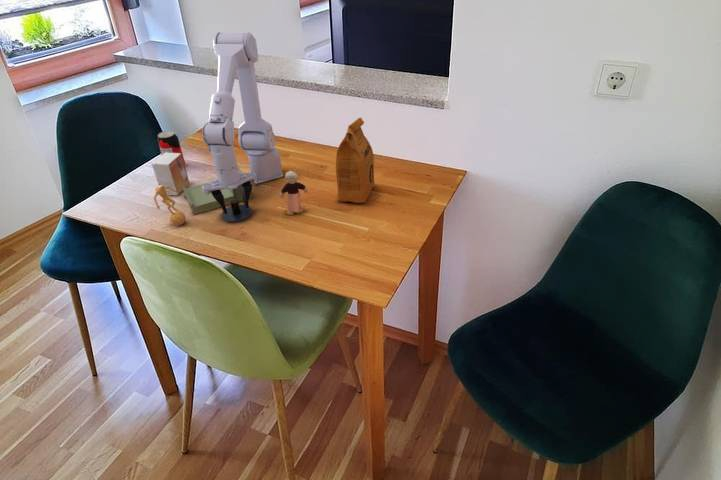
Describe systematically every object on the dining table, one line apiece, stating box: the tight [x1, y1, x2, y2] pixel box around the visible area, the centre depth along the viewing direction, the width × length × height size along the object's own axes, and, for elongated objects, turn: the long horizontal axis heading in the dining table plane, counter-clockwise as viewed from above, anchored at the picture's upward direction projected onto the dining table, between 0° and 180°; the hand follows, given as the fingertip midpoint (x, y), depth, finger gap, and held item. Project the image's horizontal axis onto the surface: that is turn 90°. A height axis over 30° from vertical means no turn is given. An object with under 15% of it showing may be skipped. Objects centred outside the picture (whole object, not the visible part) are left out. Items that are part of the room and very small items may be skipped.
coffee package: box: [335, 117, 375, 204], centre depth 135 cm, size 10×12×22 cm
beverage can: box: [157, 130, 186, 165], centre depth 157 cm, size 6×6×12 cm
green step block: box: [182, 166, 253, 215], centre depth 142 cm, size 17×12×6 cm
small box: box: [151, 152, 190, 196], centre depth 145 cm, size 8×6×10 cm
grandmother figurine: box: [279, 170, 308, 216], centre depth 132 cm, size 8×4×13 cm, turn 117°
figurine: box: [153, 185, 186, 226], centre depth 129 cm, size 8×6×12 cm
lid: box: [221, 199, 253, 224], centre depth 134 cm, size 8×8×4 cm
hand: (235, 209), depth 134 cm, fingers open, 5 cm apart
